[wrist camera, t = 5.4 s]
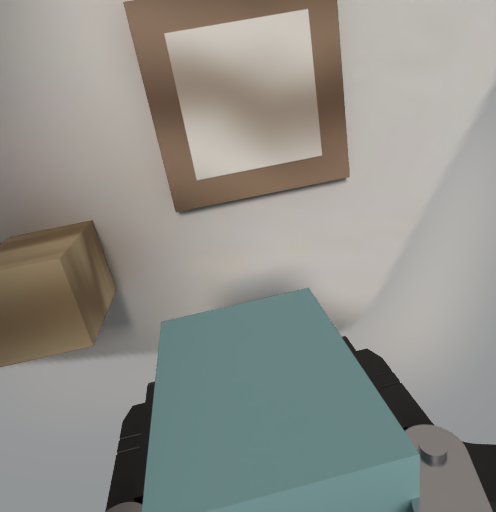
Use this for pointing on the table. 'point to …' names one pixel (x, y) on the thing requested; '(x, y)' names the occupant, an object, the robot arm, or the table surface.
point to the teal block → (271, 417)
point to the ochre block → (52, 292)
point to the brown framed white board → (242, 94)
